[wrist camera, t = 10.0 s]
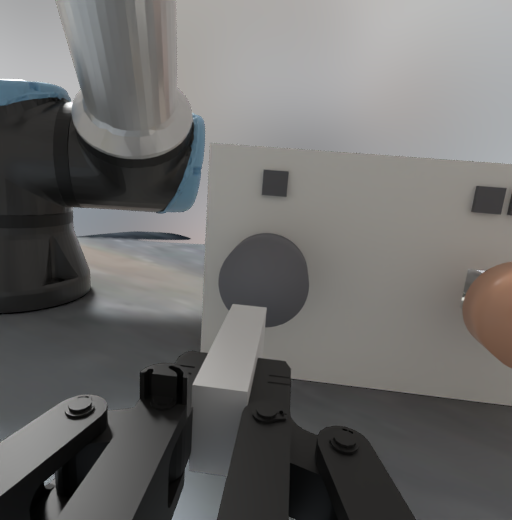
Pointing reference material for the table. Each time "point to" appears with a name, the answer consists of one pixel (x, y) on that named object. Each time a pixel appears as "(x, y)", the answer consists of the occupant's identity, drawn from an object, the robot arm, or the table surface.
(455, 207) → the button panel
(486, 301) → the terracotta button
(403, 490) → the table surface
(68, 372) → the table surface
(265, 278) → the charcoal button
